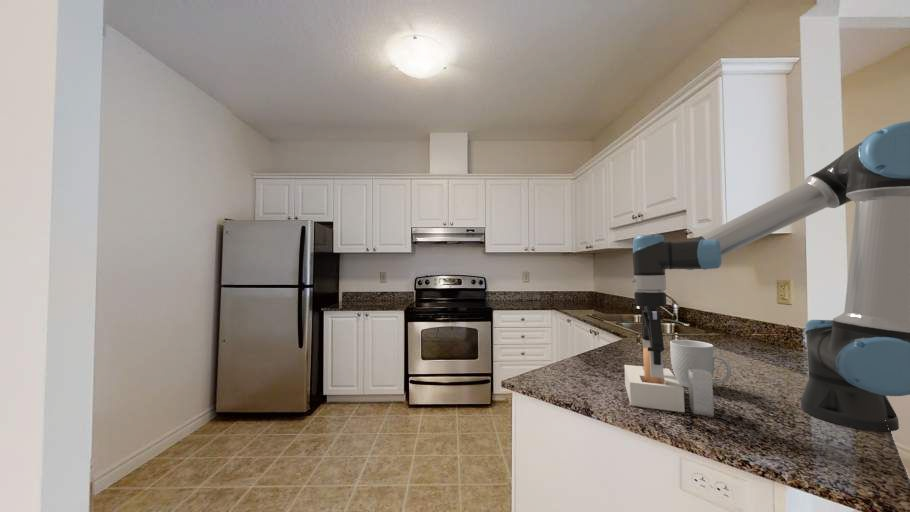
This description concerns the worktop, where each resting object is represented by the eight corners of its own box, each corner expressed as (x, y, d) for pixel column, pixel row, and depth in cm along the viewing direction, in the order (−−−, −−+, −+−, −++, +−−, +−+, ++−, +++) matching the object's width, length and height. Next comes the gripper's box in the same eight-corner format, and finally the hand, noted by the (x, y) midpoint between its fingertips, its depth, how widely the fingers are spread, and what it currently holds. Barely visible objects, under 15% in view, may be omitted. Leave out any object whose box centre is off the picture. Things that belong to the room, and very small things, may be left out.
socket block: (669, 389, 100) (668, 368, 100) (684, 412, 83) (683, 388, 83) (625, 384, 104) (624, 364, 105) (630, 405, 88) (629, 382, 88)
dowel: (661, 393, 91) (658, 348, 92) (663, 398, 87) (661, 351, 88) (644, 391, 92) (642, 347, 93) (646, 396, 89) (644, 350, 90)
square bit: (708, 410, 84) (706, 370, 85) (713, 416, 81) (711, 374, 81) (689, 407, 86) (688, 368, 86) (694, 413, 82) (692, 372, 83)
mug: (734, 389, 99) (732, 344, 100) (729, 399, 91) (727, 351, 92) (676, 378, 110) (674, 338, 110) (667, 386, 102) (665, 343, 103)
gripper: (630, 288, 104) (632, 357, 103) (639, 293, 81) (643, 382, 80) (657, 289, 101) (660, 359, 100) (676, 294, 78) (680, 386, 77)
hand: (652, 369), depth 90 cm, fingers open, 13 cm apart
